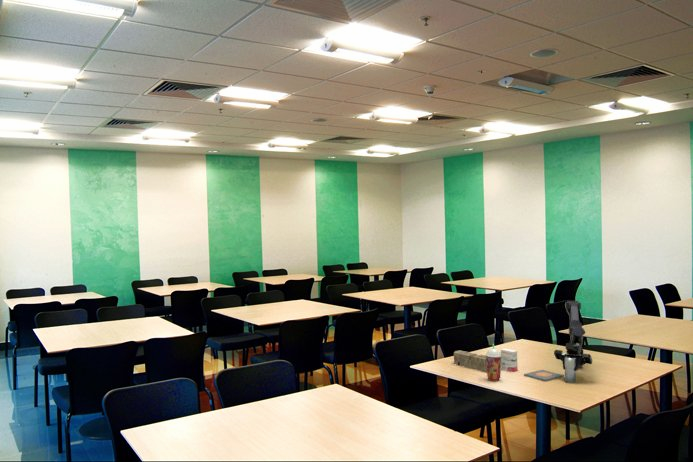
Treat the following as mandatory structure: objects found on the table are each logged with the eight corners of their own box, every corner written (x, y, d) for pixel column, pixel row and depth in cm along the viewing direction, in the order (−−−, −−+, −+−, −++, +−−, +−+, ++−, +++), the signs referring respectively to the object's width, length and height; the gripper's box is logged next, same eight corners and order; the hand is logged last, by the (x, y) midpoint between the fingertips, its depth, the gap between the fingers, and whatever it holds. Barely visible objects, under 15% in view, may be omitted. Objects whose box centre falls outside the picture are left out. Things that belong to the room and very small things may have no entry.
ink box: (518, 370, 307) (517, 350, 307) (513, 372, 304) (512, 351, 304) (505, 367, 313) (505, 348, 314) (500, 369, 310) (500, 349, 310)
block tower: (452, 365, 325) (491, 373, 302) (451, 352, 325) (491, 359, 302) (460, 363, 329) (500, 371, 307) (459, 350, 330) (499, 356, 307)
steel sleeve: (569, 379, 287) (568, 355, 287) (578, 382, 282) (577, 357, 282) (562, 381, 284) (562, 357, 284) (571, 383, 279) (571, 359, 279)
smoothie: (502, 378, 291) (502, 342, 291) (500, 382, 283) (499, 345, 283) (487, 377, 294) (486, 341, 294) (484, 381, 287) (484, 344, 287)
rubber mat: (542, 371, 305) (542, 369, 305) (563, 376, 293) (563, 374, 293) (524, 375, 296) (523, 373, 296) (545, 381, 284) (545, 379, 284)
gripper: (554, 335, 292) (547, 358, 284) (590, 339, 280) (584, 364, 272) (559, 346, 298) (553, 370, 290) (595, 351, 286) (589, 376, 278)
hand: (569, 370), depth 282 cm, fingers closed on steel sleeve, 5 cm apart
